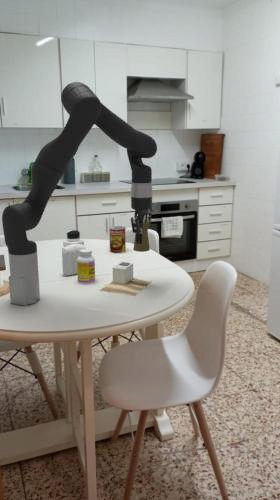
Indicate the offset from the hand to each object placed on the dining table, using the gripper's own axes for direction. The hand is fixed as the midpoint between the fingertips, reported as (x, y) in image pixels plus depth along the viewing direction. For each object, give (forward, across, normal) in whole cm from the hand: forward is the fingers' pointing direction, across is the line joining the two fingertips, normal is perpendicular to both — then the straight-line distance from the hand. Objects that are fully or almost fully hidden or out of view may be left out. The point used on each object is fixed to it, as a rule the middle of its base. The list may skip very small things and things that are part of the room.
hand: (141, 242), depth 149 cm
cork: (+3, 0, 0) cm, 3 cm away
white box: (+17, +2, +9) cm, 19 cm away
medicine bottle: (+17, +27, +47) cm, 57 cm away
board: (+17, -3, +5) cm, 18 cm away
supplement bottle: (+17, -4, +21) cm, 28 cm away
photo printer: (+17, +3, +31) cm, 36 cm away
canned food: (+17, +42, +31) cm, 56 cm away
